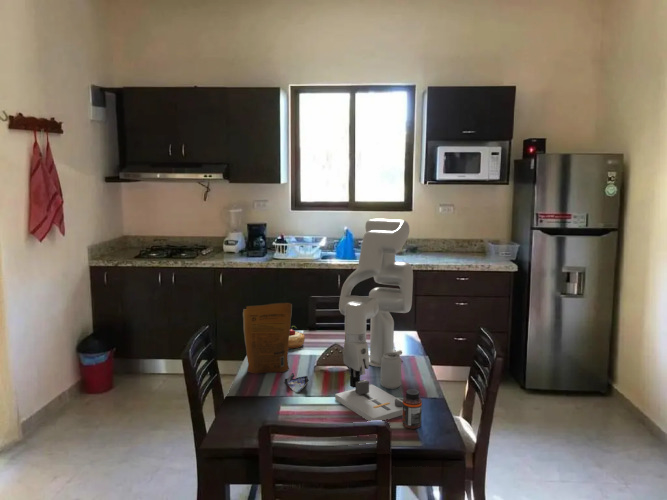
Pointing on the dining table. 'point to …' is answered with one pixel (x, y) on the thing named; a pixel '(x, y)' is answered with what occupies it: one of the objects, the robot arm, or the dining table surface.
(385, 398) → the console board
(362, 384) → the fader knob
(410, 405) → the supplement bottle
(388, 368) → the can
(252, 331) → the pancake mix bag
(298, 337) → the pastry
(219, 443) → the dining table surface
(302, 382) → the snack package
